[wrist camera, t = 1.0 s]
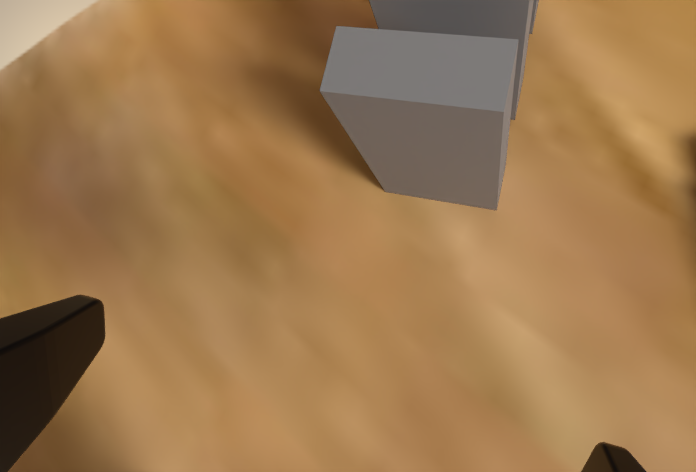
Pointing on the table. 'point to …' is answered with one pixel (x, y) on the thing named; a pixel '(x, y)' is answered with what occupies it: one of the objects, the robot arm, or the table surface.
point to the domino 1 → (463, 23)
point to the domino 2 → (425, 109)
